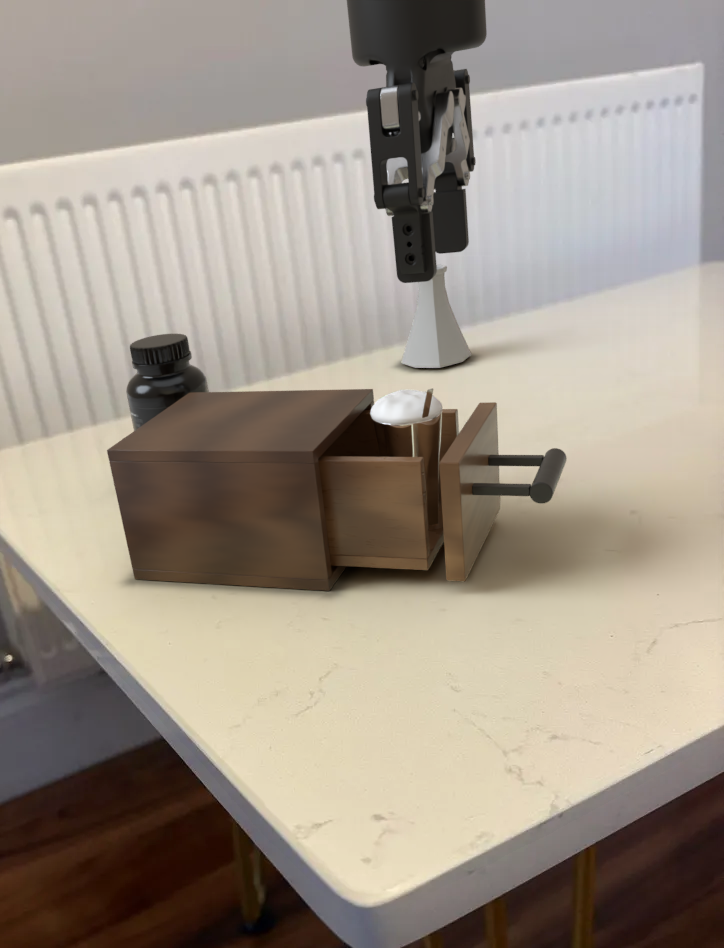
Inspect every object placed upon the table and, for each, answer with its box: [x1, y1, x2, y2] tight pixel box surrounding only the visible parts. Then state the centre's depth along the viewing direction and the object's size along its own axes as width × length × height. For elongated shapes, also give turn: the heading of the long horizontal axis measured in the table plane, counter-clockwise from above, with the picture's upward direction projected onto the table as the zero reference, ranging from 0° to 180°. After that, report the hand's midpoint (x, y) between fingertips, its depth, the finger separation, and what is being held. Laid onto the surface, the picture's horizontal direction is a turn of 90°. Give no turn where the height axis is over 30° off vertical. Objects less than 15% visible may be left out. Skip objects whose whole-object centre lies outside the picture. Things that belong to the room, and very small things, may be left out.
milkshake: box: [370, 387, 443, 531], centre depth 67 cm, size 4×5×10 cm
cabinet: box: [106, 388, 375, 592], centre depth 72 cm, size 15×13×10 cm
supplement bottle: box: [126, 333, 210, 432], centre depth 87 cm, size 7×7×12 cm
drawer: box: [318, 402, 568, 582], centre depth 68 cm, size 18×11×8 cm, turn 68°
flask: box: [400, 264, 472, 369], centre depth 110 cm, size 7×7×10 cm
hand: (435, 265), depth 63 cm, fingers open, 8 cm apart
